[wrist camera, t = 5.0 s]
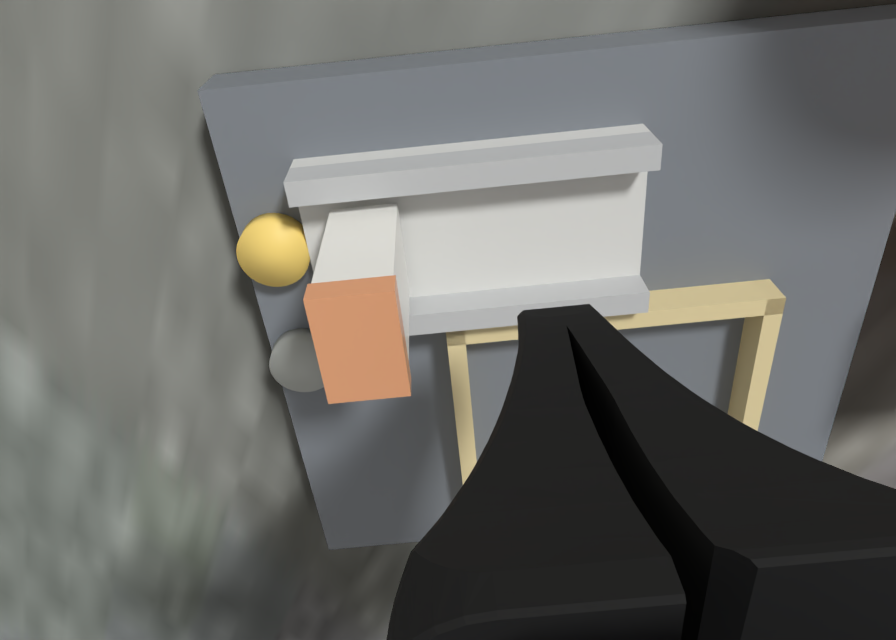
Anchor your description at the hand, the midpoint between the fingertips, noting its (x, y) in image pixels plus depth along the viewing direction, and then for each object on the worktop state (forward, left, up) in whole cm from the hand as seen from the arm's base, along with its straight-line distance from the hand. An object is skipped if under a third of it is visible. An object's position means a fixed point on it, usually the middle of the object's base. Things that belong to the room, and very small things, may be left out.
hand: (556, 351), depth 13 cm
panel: (-4, -1, -7) cm, 8 cm away
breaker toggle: (0, +4, -5) cm, 6 cm away
